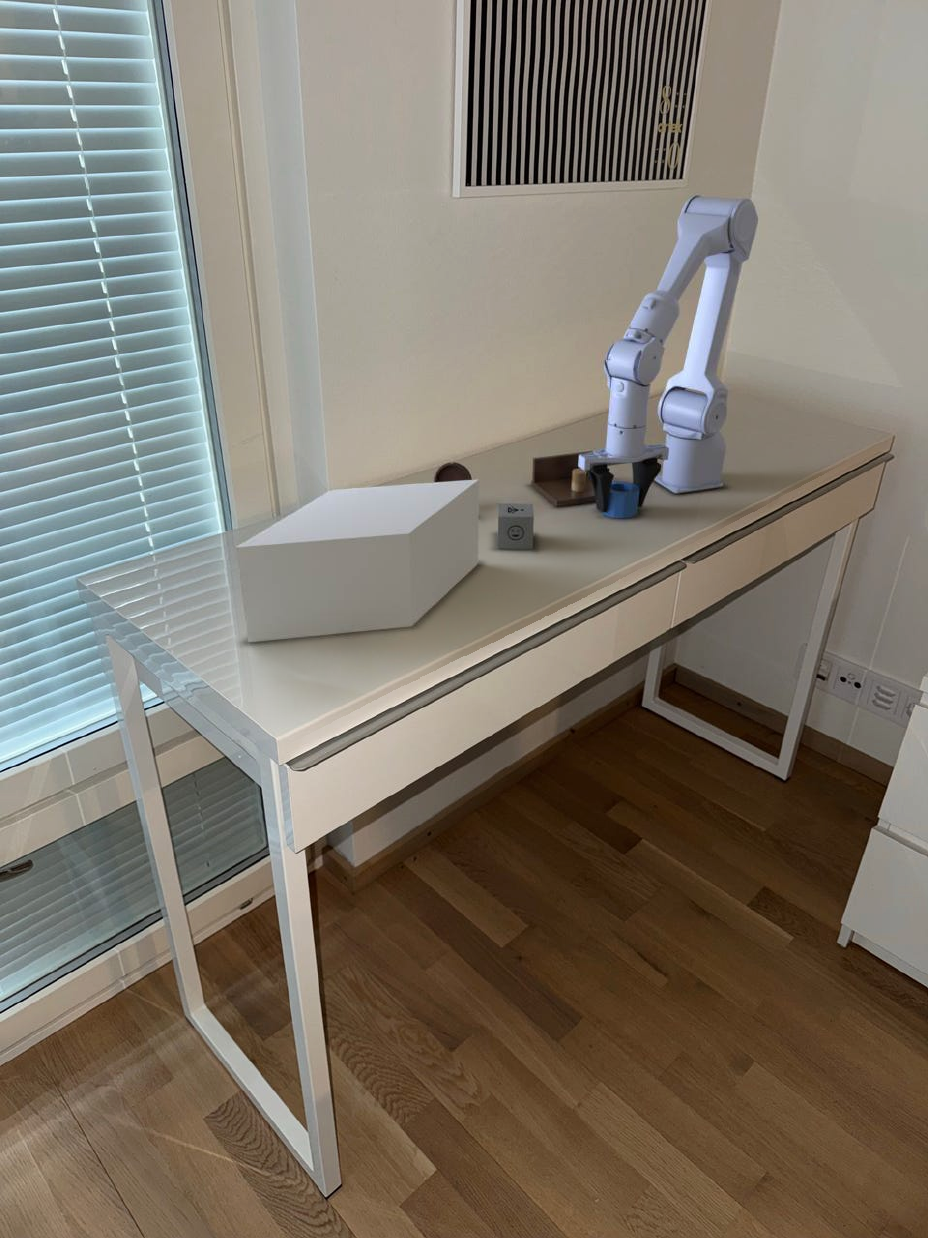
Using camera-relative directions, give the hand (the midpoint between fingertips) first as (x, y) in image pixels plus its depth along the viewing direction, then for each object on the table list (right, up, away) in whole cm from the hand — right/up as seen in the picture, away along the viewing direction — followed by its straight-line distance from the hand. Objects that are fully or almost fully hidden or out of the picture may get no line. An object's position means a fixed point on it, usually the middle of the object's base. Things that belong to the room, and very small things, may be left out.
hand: (619, 507), depth 143 cm
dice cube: (-17, -6, -10) cm, 21 cm away
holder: (-6, +3, +8) cm, 10 cm away
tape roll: (0, -1, 0) cm, 1 cm away
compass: (-26, -1, -1) cm, 26 cm away
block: (-36, -15, -25) cm, 47 cm away
